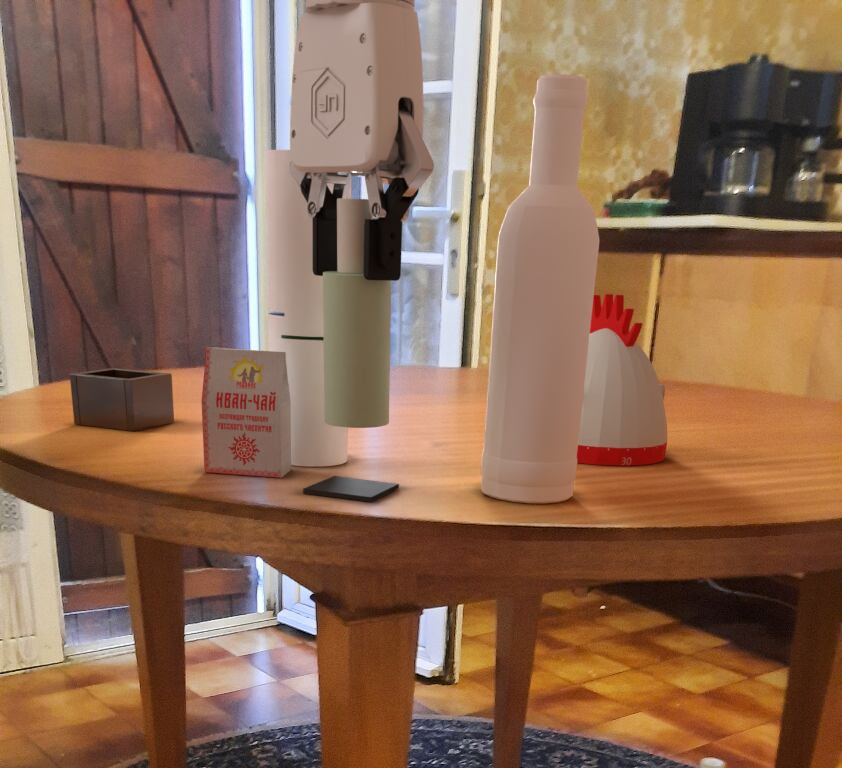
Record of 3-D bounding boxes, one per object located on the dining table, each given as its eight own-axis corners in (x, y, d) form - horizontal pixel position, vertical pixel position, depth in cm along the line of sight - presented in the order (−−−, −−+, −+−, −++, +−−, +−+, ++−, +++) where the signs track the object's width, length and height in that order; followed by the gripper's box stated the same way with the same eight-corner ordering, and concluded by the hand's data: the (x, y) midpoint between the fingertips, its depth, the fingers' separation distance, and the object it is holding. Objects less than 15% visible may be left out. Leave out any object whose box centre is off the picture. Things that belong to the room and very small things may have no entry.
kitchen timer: (602, 438, 119) (619, 291, 112) (693, 460, 108) (717, 300, 102) (502, 444, 112) (514, 288, 105) (588, 469, 101) (608, 298, 95)
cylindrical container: (314, 449, 104) (314, 157, 94) (363, 461, 100) (369, 156, 89) (255, 456, 100) (248, 150, 89) (303, 469, 95) (302, 148, 84)
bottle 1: (313, 424, 85) (310, 197, 77) (340, 414, 89) (339, 198, 82) (374, 430, 83) (376, 199, 76) (398, 420, 87) (402, 200, 80)
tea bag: (217, 464, 95) (212, 345, 91) (291, 469, 95) (290, 350, 91) (204, 472, 92) (199, 349, 88) (281, 477, 92) (279, 354, 87)
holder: (73, 424, 111) (69, 373, 109) (116, 415, 117) (112, 367, 115) (134, 431, 109) (131, 380, 107) (174, 422, 115) (171, 373, 113)
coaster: (302, 493, 86) (302, 488, 86) (334, 480, 92) (334, 475, 91) (371, 502, 85) (371, 497, 84) (399, 488, 90) (399, 483, 90)
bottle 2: (588, 493, 91) (634, 83, 78) (548, 509, 85) (590, 67, 72) (506, 479, 95) (537, 86, 82) (461, 493, 89) (487, 71, 76)
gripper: (242, -6, 76) (249, 271, 84) (404, -38, 65) (394, 284, 73) (324, 11, 81) (323, 272, 89) (488, -16, 70) (470, 285, 78)
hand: (356, 275), depth 81 cm, fingers closed on bottle 1, 5 cm apart
